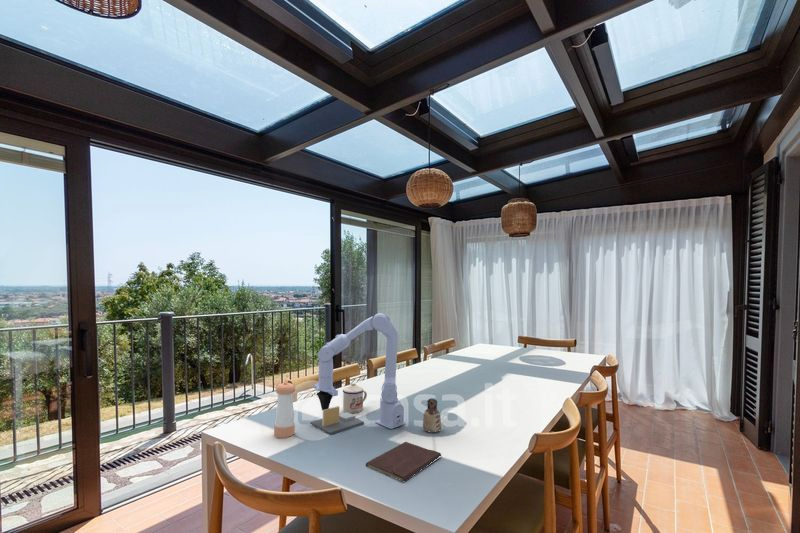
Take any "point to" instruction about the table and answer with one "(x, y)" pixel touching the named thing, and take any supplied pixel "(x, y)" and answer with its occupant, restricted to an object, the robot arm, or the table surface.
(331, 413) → the tile
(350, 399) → the teacup with lid
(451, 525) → the table surface
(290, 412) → the pepper shaker
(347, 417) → the slate tile
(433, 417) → the figurine
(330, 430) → the mat
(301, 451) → the table surface
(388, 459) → the notebook
